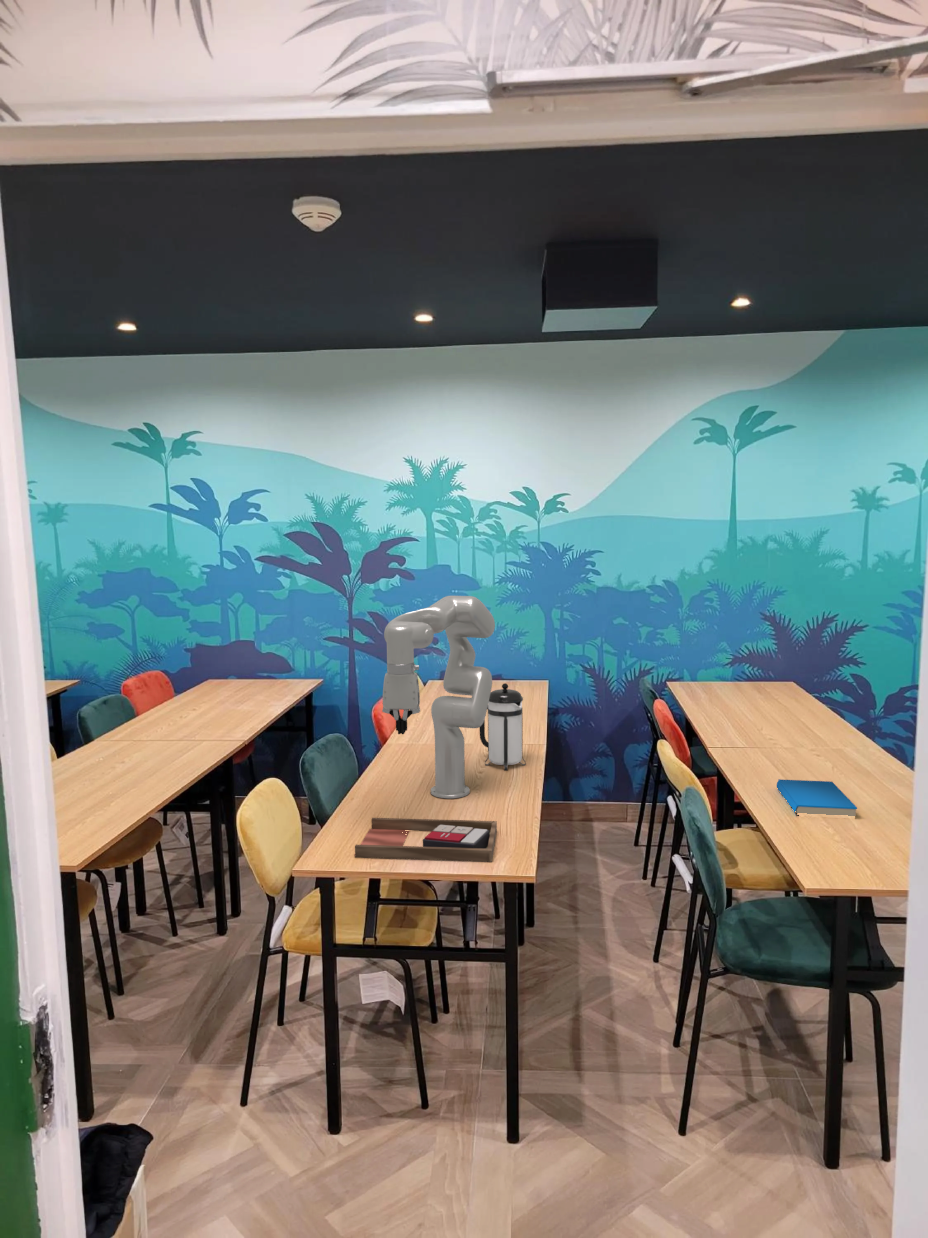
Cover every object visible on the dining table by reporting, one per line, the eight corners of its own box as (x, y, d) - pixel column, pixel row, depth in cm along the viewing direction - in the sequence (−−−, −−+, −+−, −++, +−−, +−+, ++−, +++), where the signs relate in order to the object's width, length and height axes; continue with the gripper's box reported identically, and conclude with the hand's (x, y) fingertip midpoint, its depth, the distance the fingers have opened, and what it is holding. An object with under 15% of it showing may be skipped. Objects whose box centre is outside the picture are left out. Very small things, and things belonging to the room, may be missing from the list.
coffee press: (526, 759, 294) (526, 679, 291) (525, 771, 278) (525, 687, 275) (479, 758, 295) (479, 678, 292) (476, 770, 280) (475, 687, 276)
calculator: (439, 823, 218) (489, 827, 212) (439, 838, 218) (490, 843, 213) (421, 837, 208) (474, 842, 202) (422, 853, 208) (475, 858, 202)
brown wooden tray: (370, 827, 225) (370, 817, 225) (496, 831, 222) (496, 821, 221) (352, 857, 204) (352, 846, 204) (491, 862, 201) (491, 850, 200)
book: (831, 781, 253) (858, 806, 228) (831, 794, 253) (857, 821, 229) (775, 779, 256) (795, 803, 231) (775, 792, 256) (795, 818, 231)
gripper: (428, 667, 225) (429, 730, 227) (377, 666, 227) (378, 729, 228) (424, 671, 218) (425, 737, 219) (371, 671, 219) (372, 736, 221)
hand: (401, 733), depth 224 cm, fingers closed
